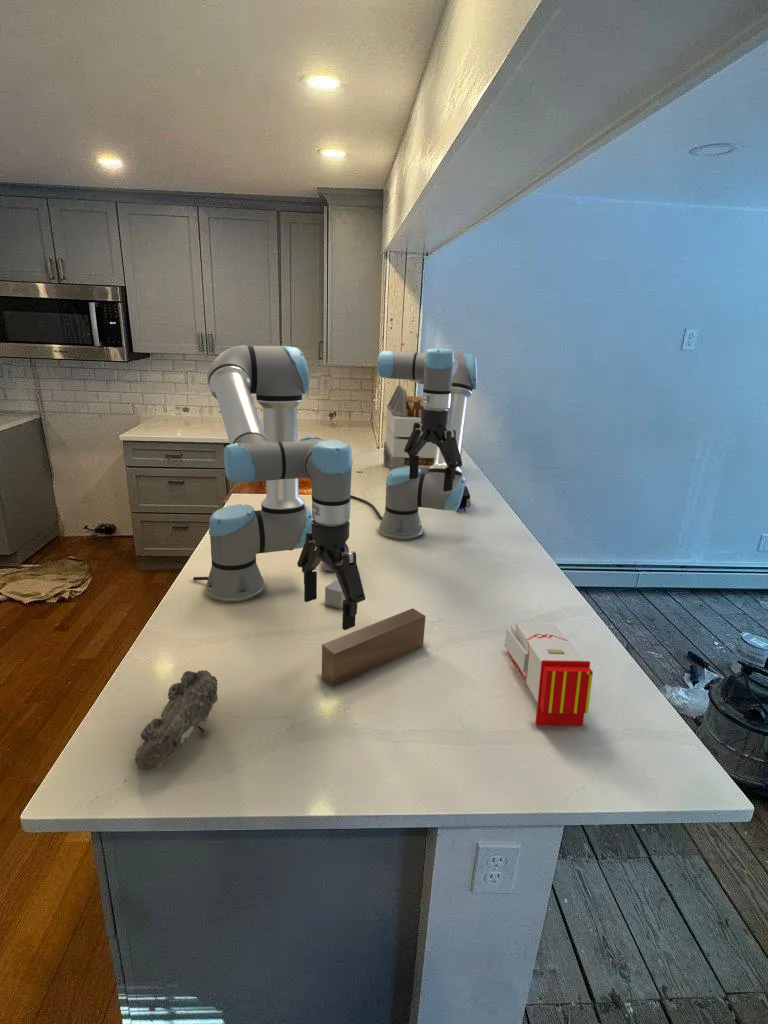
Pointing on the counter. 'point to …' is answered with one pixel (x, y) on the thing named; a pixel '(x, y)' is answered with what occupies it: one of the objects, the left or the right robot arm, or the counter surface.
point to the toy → (551, 672)
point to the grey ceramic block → (334, 595)
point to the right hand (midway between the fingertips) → (430, 484)
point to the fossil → (178, 718)
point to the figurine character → (465, 500)
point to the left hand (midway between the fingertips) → (328, 613)
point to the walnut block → (372, 646)
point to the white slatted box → (405, 431)
